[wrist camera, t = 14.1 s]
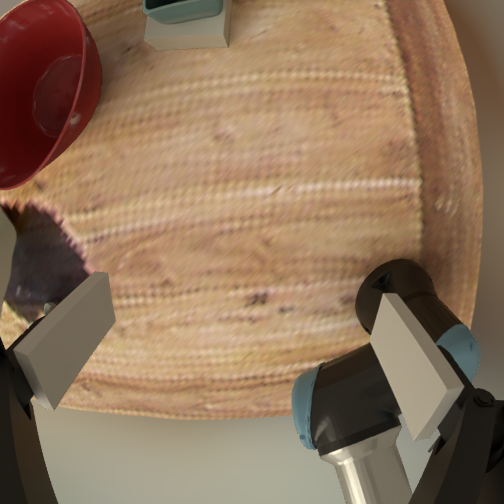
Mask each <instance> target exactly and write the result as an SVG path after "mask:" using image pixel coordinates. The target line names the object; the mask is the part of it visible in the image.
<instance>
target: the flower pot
mask: <svg viewBox="0 0 504 504" xmlns="http://www.w3.org/2000/svg"><path fill="white" fill-rule="evenodd" d="M222 10H223V0H143V13H144V14H146V15H148V16H149V17H151V18H152V19H154V20H156V21H157V22H159V23H162V24H169V25H170V24H178V23H183V22H188V21H193V20H198V19H204V18H210V17H214V16H217V15H219V14H220V13H221V12H222Z"/></svg>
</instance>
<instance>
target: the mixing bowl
mask: <svg viewBox="0 0 504 504" xmlns="http://www.w3.org/2000/svg"><path fill="white" fill-rule="evenodd" d="M101 85H102V69H101V63H100V58H99V54H98V50H97V47H96V44H95V42H94V40H93V38H92V36H91V34H90V32H89V30H88V28H87V27H86V25H85V24H84V22H83V21H82V18H81V16H80V14H79V12H78V11H77V10H76V8H75V7H74V6H73V5H72V4H71V3H70V2H68V1H67V0H29V1H26V2H24V3H22V4H21V5H19V6H17V7H16V8H14V9H13V10H12V11H10V12H9V13H8V14H6V15H5V16H4V17H3V18H2V19H1V20H0V190H10V189H14V188H17V187H19V186H21V185H23V184H25V183H26V182H28V181H29V180H30V179H32V178H33V177H34V176H35V175H36V174H37V173H38V172H39V171H41V170H42V169H43V168H45V167H46V166H47V165H49V164H50V163H51V162H52V161H54V160H55V159H56V158H57V157H59V156H60V155H61V154H62V153H63V152H64V151H65V150H66V149H67V148H68V147H69V146H70V145H71V144H72V143H73V142H74V141H75V140H76V139H77V137H78V136H79V135H80V134H81V132H82V131H83V130H84V128H85V127H86V125H87V124H88V122H89V121H90V119H91V117H92V115H93V113H94V111H95V109H96V107H97V103H98V100H99V97H100V91H101Z"/></svg>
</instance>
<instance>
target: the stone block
mask: <svg viewBox="0 0 504 504" xmlns="http://www.w3.org/2000/svg"><path fill="white" fill-rule="evenodd" d="M232 2H233V0H223V10H222V12H221V13H220V14H219V15H217V16H214V17H210V18H204V19H198V20H193V21H188V22H183V23H178V24H170V25H169V24H162V23H159V22H157V21H156V20H154V19H152V18H151V17H149V16H148V15H147V21H146V27H145V33H144V41H145V42H146V43H148V44H149V45H150V46H151V47H153V48H154V49H155V50H156V51H165V50H177V49H194V48H228V43H229V32H230V22H231V12H232Z"/></svg>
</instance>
